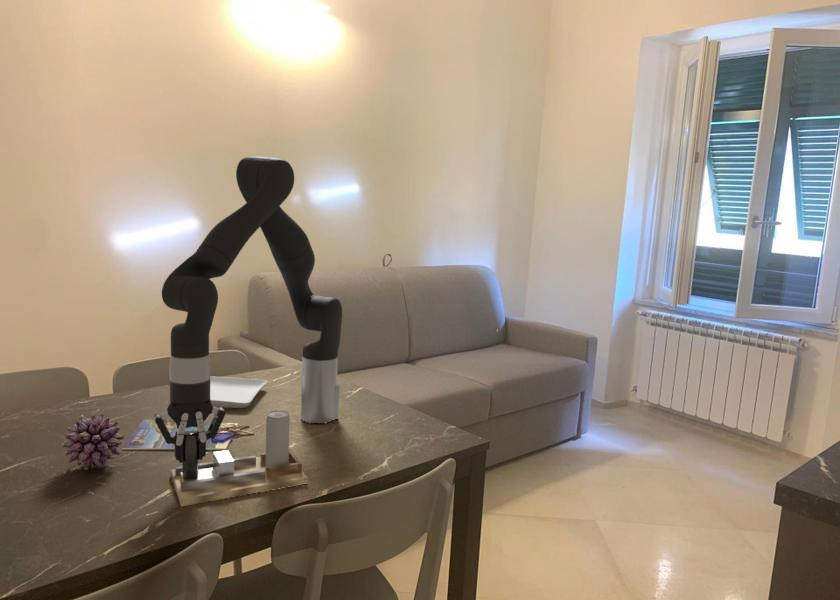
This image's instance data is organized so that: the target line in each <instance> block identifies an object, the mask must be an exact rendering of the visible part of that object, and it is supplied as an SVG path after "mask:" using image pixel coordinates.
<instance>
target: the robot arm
mask: <svg viewBox="0 0 840 600" xmlns="http://www.w3.org/2000/svg"><path fill="white" fill-rule="evenodd" d="M235 175H236V176H235V177H236V178H235V179H236V183H237V187H238V189H239V192H240V194H241V196H242V197H243V199H244V201H245V202H246V203H245V204H243V205H242V206H241V207H239V208H238V209H237V210H235V211H233V212H232V213H230V214H229V215H228V216H226V217H225V218H222V219H221V220H220V221H219V222H218V223H217V224H216V225H215V226H213V228H211V230H210V231H209V232H208V233H207V235H206V236H205V238H204V239H203V241H202V242H201V244H200V245H199V246H198V248H197V249H196V251H195V252H194V253H193V254H191V256H189V257H188V258H186V259H185V260H184V261H183V262H182V263H180V264H179V265H178V267H176V268H174V270H173V271H172V272H170V274H169V275H168V276H167V278H166V279H165V281H164V282H163V285H162V289H161V299H162V301H163V303H164V304H165V306H166V307H167V308H169V309H172V310H174V311H181V312H186V313H187V315H186V317H185V318H186V319H185V322H182V323H177V324H175V325H174V326H172V328H171V330H170V331H171V332H170V359H169V371H168V377H169V405H168V406H167V408H166V411H164V412H161V413H155V414H154V415H153V419H154V422H155V424H156V426H157V427H158V429H159V431H160V434H161V435H162V437H163V439H164V441H165V442H166V444H169V445H171V444H173V445H174V457H175V461H178V463H179V464H182V463H183V444H182V442H183V437H184V434H185V432H186V429H188V428H191V427H193V428H196V431H197V432H198V461H201V460H203V458H204V457H206V454H207V453H206V452H207V449H206V448H207V444H206V443H207V441H209V439H215V438H216V436H217V434H218V431H219V430H220V428H221V425H222V422H223V420H224V418H225V417H226V411H225V409H224V408H222V407H214V406H213V405H212V403H211V401H210V376H211V360H210V331H211V328H212V325H213V322H214V318H215V314H216V310H217V307H218V303H219V302H218V301H219V293H218V290H217V286H216V285H215V283H214V282H213V281H212V280H211V279H216V278H219V277H223V276H224V275H225V274H226V273H227V272H228V271H229V269H230V268H231V266H232V265H233V263H234V261H235V260H236V259H237V257H238V256H239V254H240V252H241V251H242V249H243V248H244V247H245V245H246V243H247V242H248V241H249V240H250V239H251V237H252V236H253V235H254V234H255V233H256V232H257V231H258V229H261V232H262V234H263V236H264V238H265V241H266V242H267V244H268V247H269V249H270V252H271V255H272V256H273V257H272V258H273V259H274V262H275V264H276V265H277V268H278V270H279V272H280V274H281V277H282V279H283V281H284V284H285V286H286V289H287V292H288V294H289V297H290V302H291V303H292V307H293V311H294V315H295V317H296V319H297V322H298V324H299V325H300V326H301V327H302V328H303V329H305V330H307V331H308V330H309V331H316V332H320V337H319V339H318V340H316V341H312V342H311V341H310V342H309V343H308V342H307V343H306V344H304V345H303V347H302V357H301V358H302V359H301V360H302V362H301V363H302V364H301V391H300V393H301V398H300V399H301V401H300V403H301V404H300V420H301V419H302V420H303V422H304V421H305V423H307V422H308V423H307V424H311V423H325V422H329V421H332V420H333V419H336V418H338V419H339V405H340V404H339V403H340V385H339V384H338V363H339V362H338V356H339V349H340V344H341V334H342V333H341V332H342V324H343V323H342V322H343V307H342V303H341V301H340V299H338V298H336V297H332V296H324V295H316V294H314V293H313V292H312V289H311V287H310V284H309V280H310V277H311V276H312V273H313V270H314V268H315V267H314V266H315V263H316V259H315V258H316V257H315V254H314V253H315V252H314V250H313V248H312V245H311V243H310V239H309V237H308V235H307V233H305V231H304V229H303V228H302V227H301V226H300V225H299V224H298V223H297V222H296V221H295V220H294V219H293V218H292V217H291V216H289V215H288V213H287V212H286V211H285V210H284V209H283V208H282V207H281V205H282V204H283V203H284V202H285V200H287V198H288V197H289V196H290V194H291V192H292V191H293V188H294V185H295V172H294V169H293V166H292V165H291V164H290V163H289V161H287V160H285V159H283V158H282V159H281V158H278V157H270V156H269V157H267V156H257V155H255V156H254V155H252V156H245V157H243V158H242V159H241V160H239V162H238V163H237V167H236V172H235ZM210 414H211V415H212V420H211V422H210V425H209V426H208V429H207V430H206V428H205V422H206V420H207V419H208V418H209V416H210ZM169 418H170V419H172V421H173V422H174V423H175V433H174V435H173V434H171V433H170V431H169V429H168V427H167V424H168V422H169V421H168V419H169ZM302 420H301V421H302ZM332 422H333V421H332ZM325 424H326V423H325Z"/></svg>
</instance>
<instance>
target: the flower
mask: <svg viewBox="0 0 840 600" xmlns="http://www.w3.org/2000/svg"><path fill="white" fill-rule="evenodd" d="M78 419H79V420H76V421H75V424H74V425H73V427H70V426H67V427H66V428H65V430H67V431H68V432H69V433H65V436H64V437H65V439H66V441H65V442H62V443H60V445H61V448H67V450H66V451H65V455H66V456H68V455H70V457H69V458H68V459H67V461H68V463H72V462H75V461H77V462H76V465H78V466H80V465H82V464H83V466H84V467H83V470H85V471H88V470H89V467H90V466H91V465H93V468H97V467H98V464H100V465H101V466H102V467H103V468H105V467H107V466H108V464H107V460H108V461H109V460H113V459H115V456H114V455H117V456H120V454H121V452H120V451H119V450H118V449H117V448H119V447H120V446H121V445H122V444H123V443H122V441H121V440H125V435H121V434H119V433H118V432H119V431H121V429H122V428H121V426H120V425H119V426H117V425H118V424H119V423H120V422H119V420H115V421H113V422H110V419H111V417H110V416H109V417H108V416H107V417H106V418H105V414H104V412H100V413H99V415H97V417H96V415H95V413H92V414H91V415H90V417H89V418H87V417H85V416H84V415H83V414H81V415H79V416H78Z"/></svg>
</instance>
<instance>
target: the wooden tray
mask: <svg viewBox="0 0 840 600" xmlns="http://www.w3.org/2000/svg"><path fill="white" fill-rule="evenodd" d="M233 459H234V474H232V475H226V476H219V477H213V478H207V479H200V480H194V481H188V482H183V481H182V478H181V472H182V465H180V466H175V468H172V469H170V477H171V481H172V484H173V487H174V490H175V493H176V495H177V499H178V502H179V504H180V507H185V506H191V505H198V504H202V503H203V504H204V503H208V501H210V502H214V501H220V499H221V500H226V499H225V498H227V499H231V498H230V497H233V498H236V497H235V496H238V497H241V496H240V495H244V496H247V495H246V494H250V495H252V494H251V493H256V494H258V493H257V492H261V493H264V492H263V491H267V492H270V491H269V490H272V489H273V491H275V490H274V489H278V488H282V487H288V486H293V485H297V484H302V483H309V478H308V475H306V473H305V472H304V471H303V463H302V462H301V460H300V459H299V458H298V457H297V456H296V454H295V453H294V452H293V451H292V449H291V448H289V461H288V464H285V465H278V466H272V467H270V470H269V469H268V468H267V467H266V452H260V456H256V455H249V456H241V457H235V458H233ZM212 467H213V461H207V462H200V463H199V462H198V470H199V469H206V468H212Z"/></svg>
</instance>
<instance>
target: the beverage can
mask: <svg viewBox="0 0 840 600" xmlns="http://www.w3.org/2000/svg"><path fill="white" fill-rule="evenodd" d="M290 419H291V417H290V413H289V412H288V411H285V410H278V409H277V410H272V411H269V412H267V413H266V419H265V420H266V421H265V423H266V424H265V453H266V467H267V468H268V469H269V470H270V467H272V466H278V465H285V464H288V461H289V449H290Z"/></svg>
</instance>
